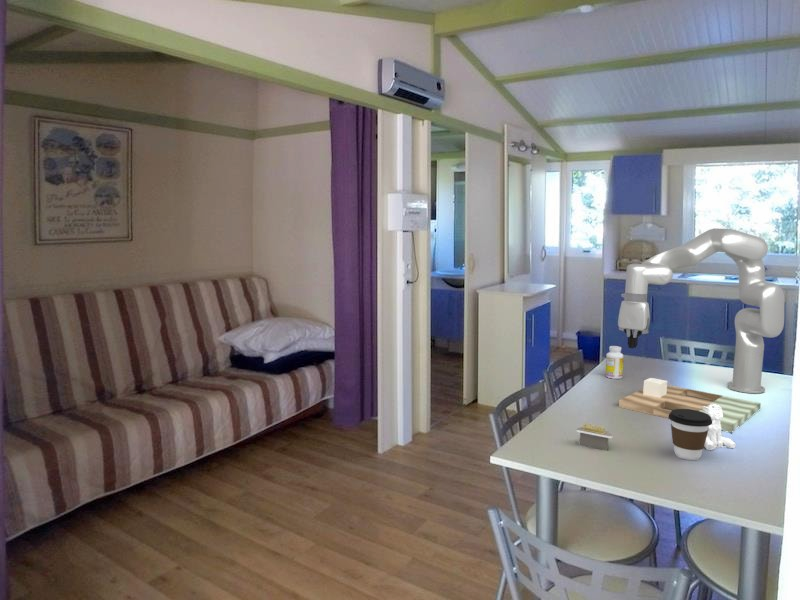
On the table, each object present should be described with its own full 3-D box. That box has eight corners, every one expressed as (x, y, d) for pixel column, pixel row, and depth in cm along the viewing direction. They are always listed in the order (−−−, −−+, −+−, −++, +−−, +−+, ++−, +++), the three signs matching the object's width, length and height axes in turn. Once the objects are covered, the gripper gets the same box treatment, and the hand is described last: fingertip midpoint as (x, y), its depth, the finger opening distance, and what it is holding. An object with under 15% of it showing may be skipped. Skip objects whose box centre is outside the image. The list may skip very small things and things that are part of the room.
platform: (569, 435, 185) (570, 414, 184) (631, 448, 175) (632, 426, 174) (556, 447, 175) (558, 426, 174) (621, 461, 165) (623, 438, 164)
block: (649, 390, 223) (650, 377, 222) (666, 394, 219) (667, 380, 218) (643, 394, 218) (643, 380, 218) (659, 397, 214) (660, 384, 214)
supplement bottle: (620, 375, 254) (621, 345, 252) (624, 379, 247) (626, 348, 246) (603, 375, 255) (605, 345, 253) (607, 379, 248) (609, 348, 246)
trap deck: (655, 388, 234) (655, 382, 234) (760, 409, 210) (760, 402, 209) (618, 406, 212) (619, 399, 211) (731, 432, 187) (732, 425, 186)
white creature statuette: (707, 451, 172) (711, 410, 170) (687, 440, 180) (690, 401, 178) (736, 449, 174) (740, 408, 172) (715, 438, 182) (718, 399, 180)
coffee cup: (689, 466, 161) (692, 422, 160) (657, 451, 171) (659, 410, 169) (718, 460, 165) (722, 417, 164) (685, 446, 175) (688, 406, 174)
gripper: (611, 296, 223) (608, 345, 225) (652, 301, 212) (648, 352, 215) (620, 295, 228) (617, 343, 230) (660, 299, 218) (656, 349, 220)
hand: (632, 347), depth 223 cm, fingers closed
